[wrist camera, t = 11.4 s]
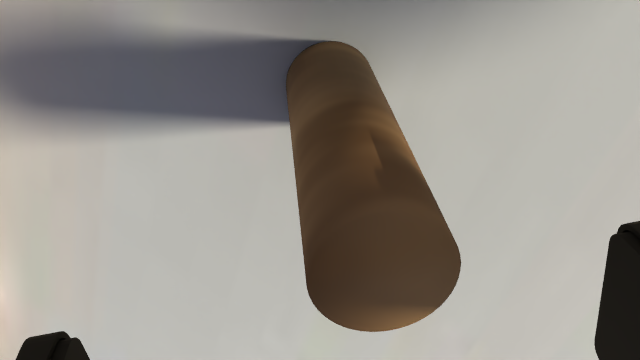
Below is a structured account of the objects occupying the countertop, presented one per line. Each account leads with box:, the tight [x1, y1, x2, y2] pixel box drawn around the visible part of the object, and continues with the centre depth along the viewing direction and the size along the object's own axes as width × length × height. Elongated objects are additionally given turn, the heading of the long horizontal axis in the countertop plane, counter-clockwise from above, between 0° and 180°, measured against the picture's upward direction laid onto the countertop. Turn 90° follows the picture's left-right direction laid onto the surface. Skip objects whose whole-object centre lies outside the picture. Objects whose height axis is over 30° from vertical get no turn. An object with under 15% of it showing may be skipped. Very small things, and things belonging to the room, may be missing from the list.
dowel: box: [286, 41, 461, 332], centre depth 15 cm, size 3×3×10 cm
